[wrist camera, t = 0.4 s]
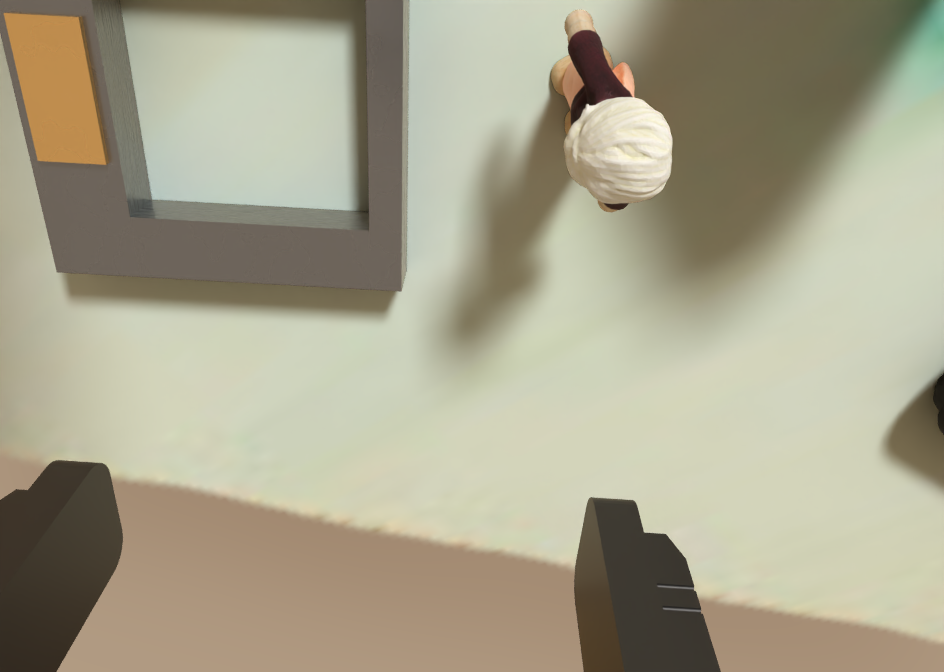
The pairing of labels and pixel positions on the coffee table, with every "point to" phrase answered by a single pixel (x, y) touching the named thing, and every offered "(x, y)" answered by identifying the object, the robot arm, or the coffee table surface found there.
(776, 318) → the coffee table surface
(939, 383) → the egg carton
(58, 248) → the holder board
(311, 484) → the coffee table surface
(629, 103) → the grandmother figurine
